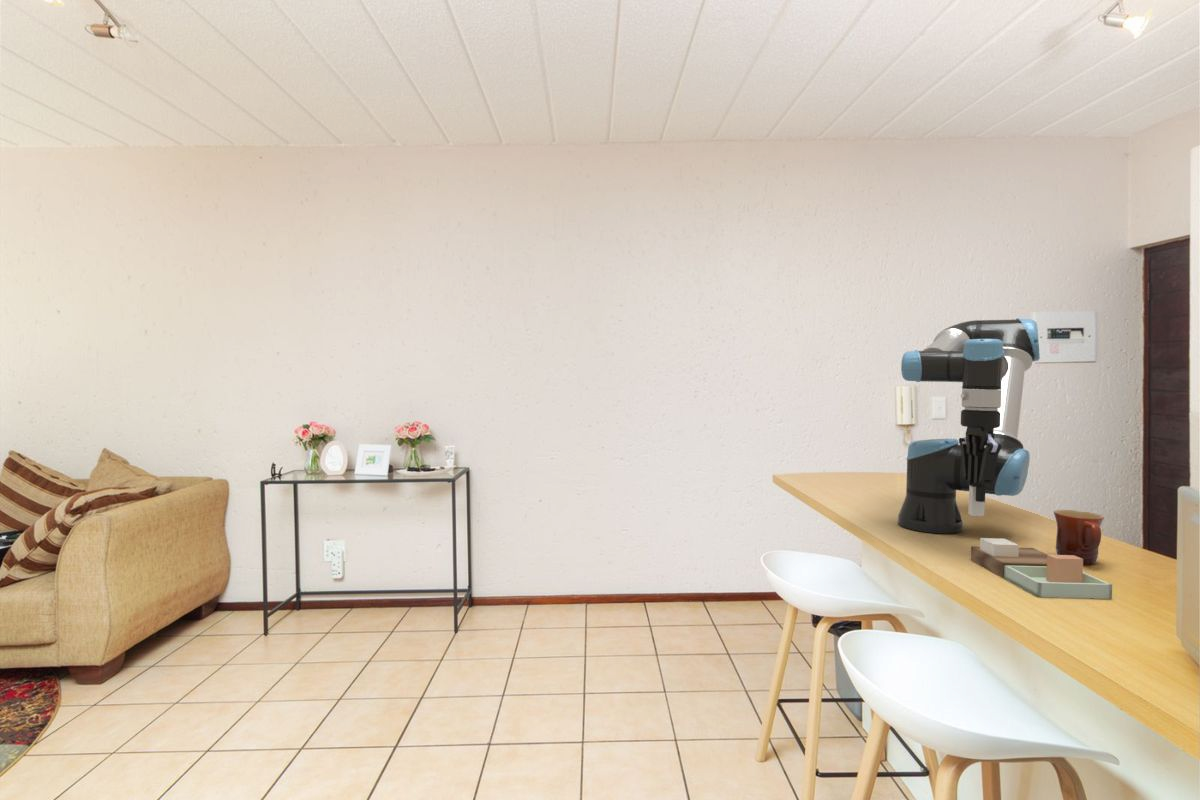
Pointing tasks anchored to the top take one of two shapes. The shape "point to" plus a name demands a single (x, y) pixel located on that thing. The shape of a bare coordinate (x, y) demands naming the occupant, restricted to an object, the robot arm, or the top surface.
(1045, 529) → the top surface
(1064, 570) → the tile terracotta
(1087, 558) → the mug
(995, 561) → the board
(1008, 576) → the tray
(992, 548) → the tile white
